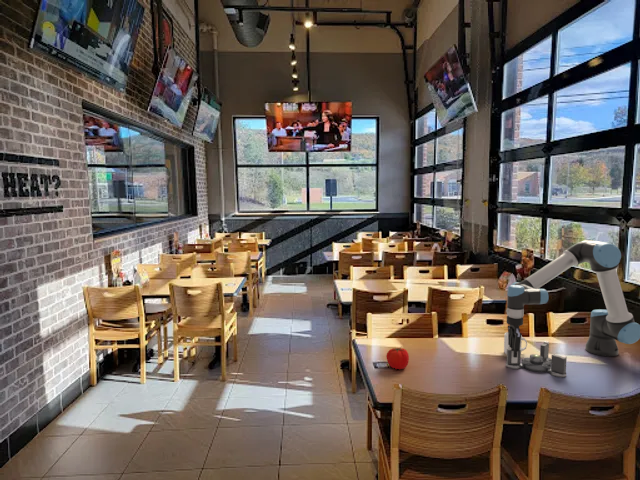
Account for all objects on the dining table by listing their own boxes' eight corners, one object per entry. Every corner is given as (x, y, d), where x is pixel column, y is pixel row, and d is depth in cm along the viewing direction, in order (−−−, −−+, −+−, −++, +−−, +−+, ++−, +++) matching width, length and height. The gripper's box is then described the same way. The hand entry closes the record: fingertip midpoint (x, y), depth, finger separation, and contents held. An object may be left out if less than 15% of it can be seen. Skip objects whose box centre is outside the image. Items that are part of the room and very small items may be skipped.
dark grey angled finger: (518, 362, 219) (519, 347, 218) (520, 364, 217) (520, 348, 216) (506, 362, 219) (506, 347, 219) (507, 364, 217) (508, 348, 216)
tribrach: (548, 358, 228) (548, 347, 227) (568, 377, 204) (569, 365, 204) (499, 357, 230) (499, 346, 230) (514, 376, 207) (514, 364, 206)
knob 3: (550, 369, 210) (551, 353, 209) (553, 368, 211) (554, 352, 210) (563, 374, 205) (564, 357, 204) (565, 373, 206) (566, 356, 205)
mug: (530, 356, 231) (531, 337, 230) (507, 356, 231) (508, 337, 230) (523, 350, 239) (523, 331, 238) (501, 350, 240) (501, 332, 239)
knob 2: (544, 360, 222) (544, 344, 221) (539, 359, 223) (540, 343, 222) (548, 357, 226) (549, 341, 225) (544, 355, 227) (544, 340, 226)
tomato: (410, 363, 224) (410, 344, 223) (407, 373, 212) (407, 353, 211) (388, 361, 227) (388, 342, 226) (384, 371, 215) (384, 351, 214)
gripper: (502, 312, 223) (501, 355, 226) (512, 320, 208) (510, 367, 211) (517, 312, 222) (516, 356, 225) (528, 321, 207) (526, 368, 210)
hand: (513, 361), depth 218 cm, fingers closed on dark grey angled finger, 2 cm apart
